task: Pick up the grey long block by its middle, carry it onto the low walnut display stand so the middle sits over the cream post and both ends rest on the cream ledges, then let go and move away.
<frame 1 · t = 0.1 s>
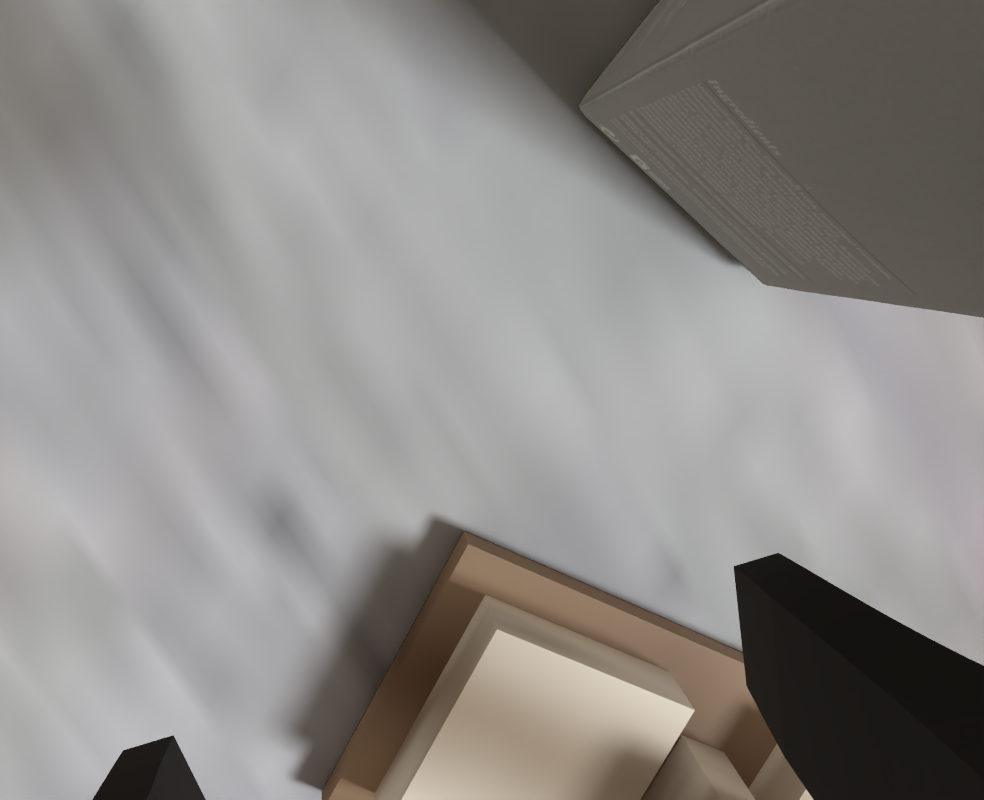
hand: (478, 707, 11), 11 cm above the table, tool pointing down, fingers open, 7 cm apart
skincare box: (771, 45, 20), on the table
display stand: (664, 769, 25), on the table
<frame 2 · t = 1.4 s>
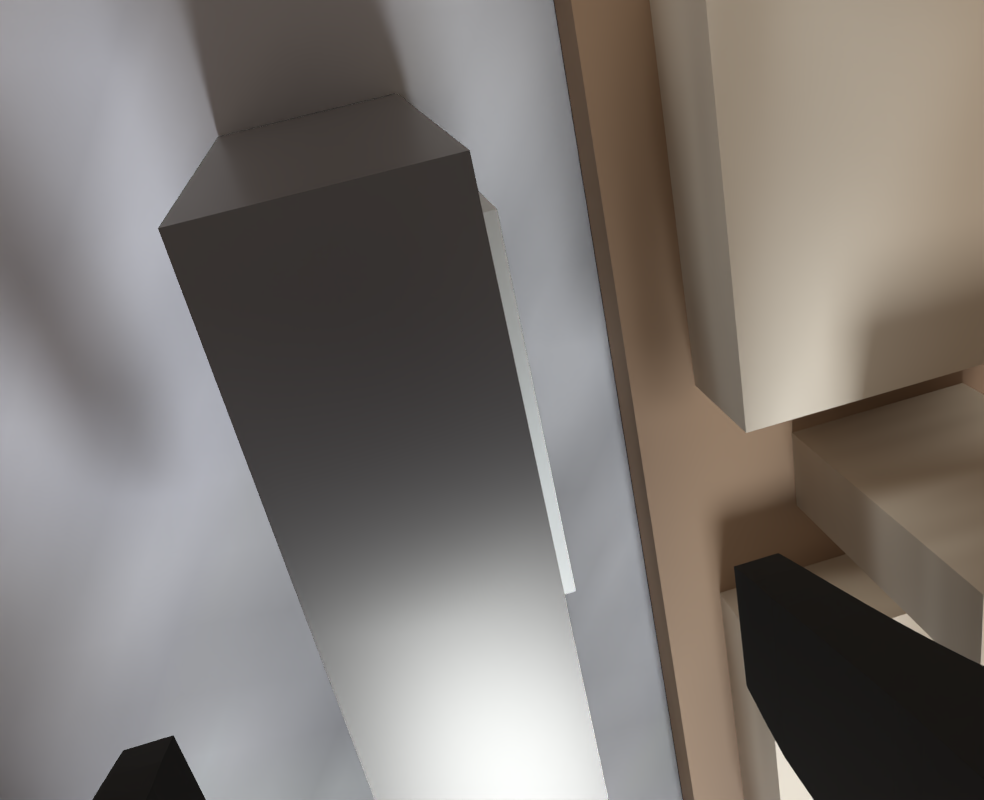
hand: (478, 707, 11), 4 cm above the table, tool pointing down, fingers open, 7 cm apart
display stand: (851, 424, 15), on the table
grey long block: (432, 546, 15), on the table
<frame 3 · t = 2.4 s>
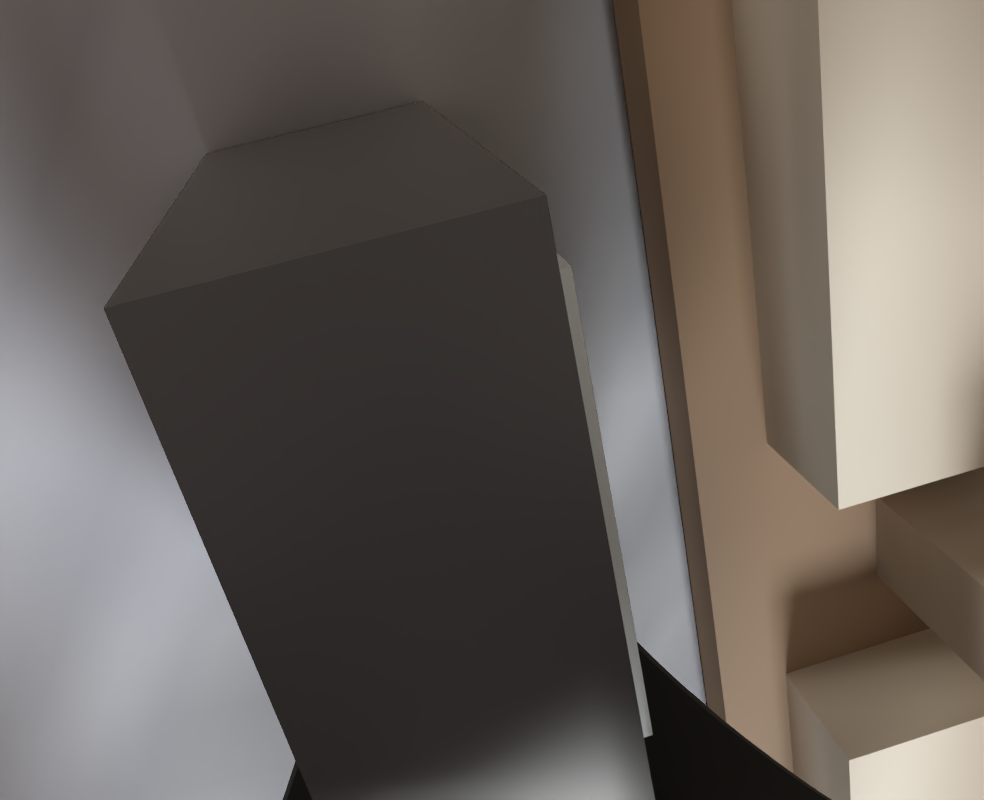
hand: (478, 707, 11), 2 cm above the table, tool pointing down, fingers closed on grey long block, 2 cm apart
display stand: (937, 480, 13), on the table
grey long block: (457, 622, 13), on the table, touching gripper
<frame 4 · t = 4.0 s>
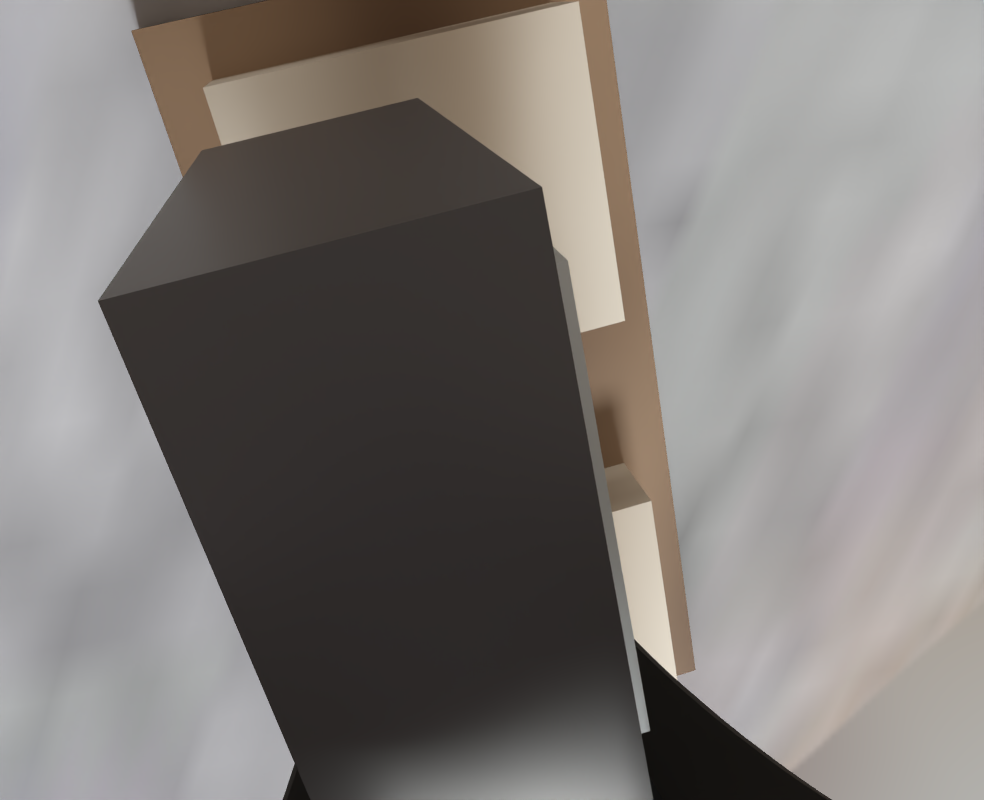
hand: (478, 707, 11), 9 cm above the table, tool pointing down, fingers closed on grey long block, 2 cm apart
display stand: (468, 404, 19), on the table
grey long block: (453, 620, 13), point 7 cm above the table, touching gripper
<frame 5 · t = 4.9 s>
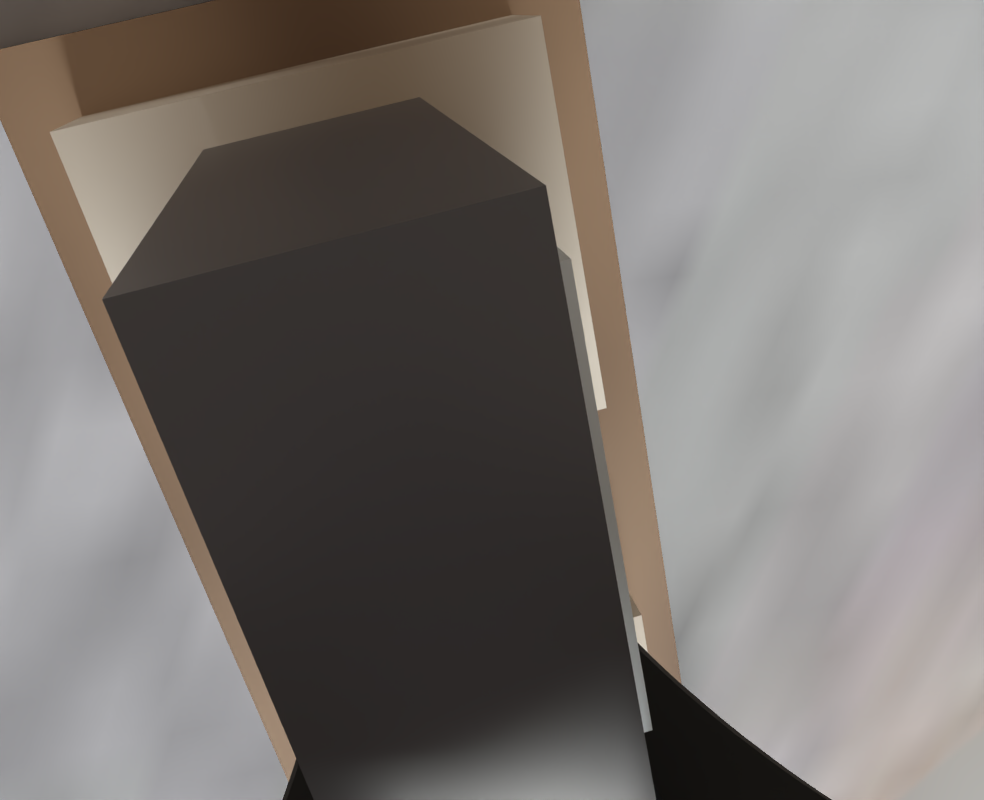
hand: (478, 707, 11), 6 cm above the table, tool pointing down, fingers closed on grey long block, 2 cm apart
display stand: (423, 492, 16), on the table
grey long block: (455, 620, 13), point 4 cm above the table, touching gripper
when the fingers open (5 cm above the table, at t = 5.6 s): grey long block drops 1 cm, resting on display stand.
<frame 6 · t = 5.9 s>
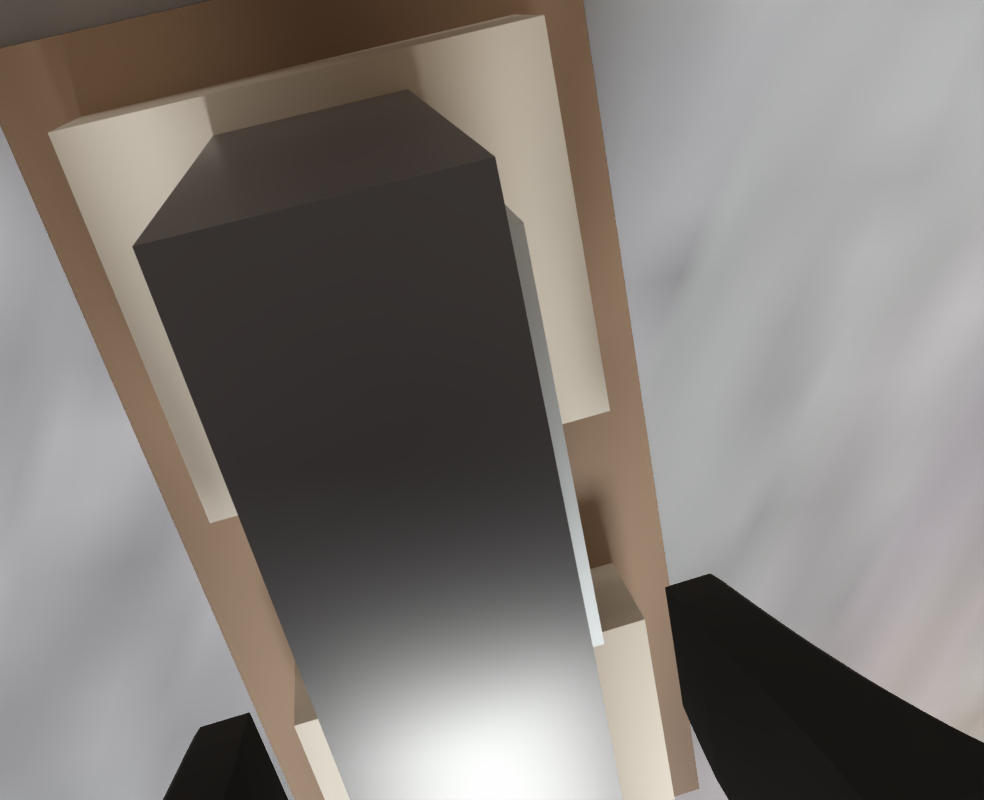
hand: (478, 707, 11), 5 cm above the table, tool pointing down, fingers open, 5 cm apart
display stand: (425, 495, 16), on the table
grey long block: (442, 573, 14), point 3 cm above the table, touching display stand
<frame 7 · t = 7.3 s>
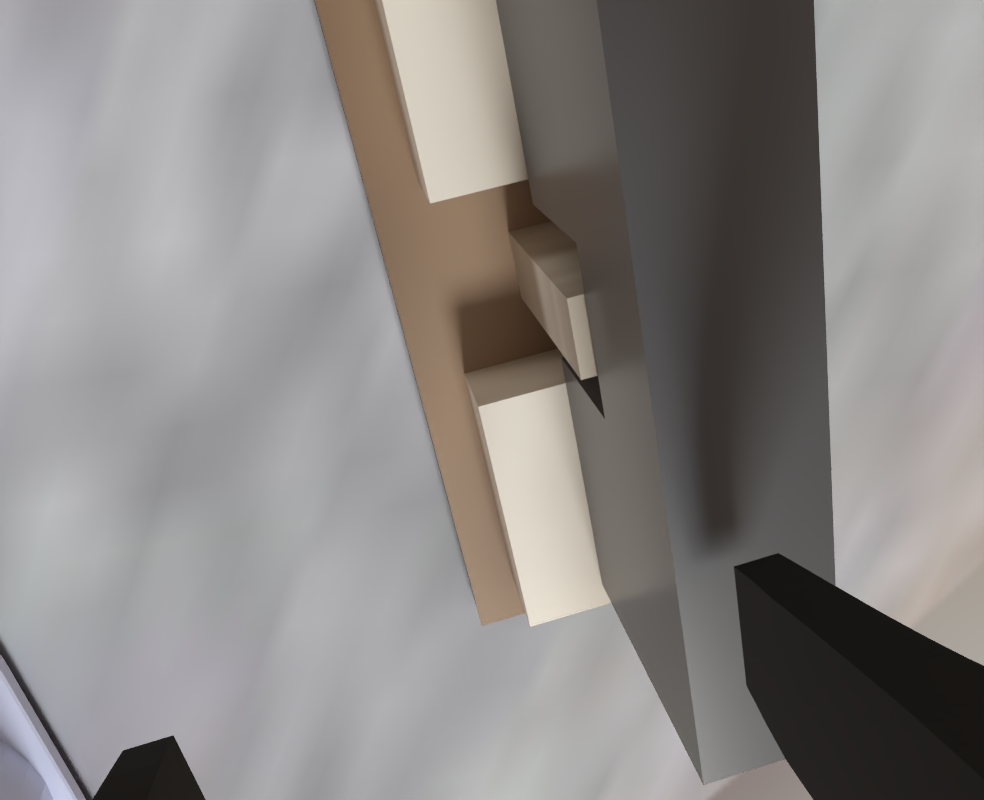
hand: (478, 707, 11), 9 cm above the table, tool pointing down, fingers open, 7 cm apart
display stand: (575, 237, 19), on the table
grey long block: (609, 268, 16), point 2 cm above the table, touching display stand
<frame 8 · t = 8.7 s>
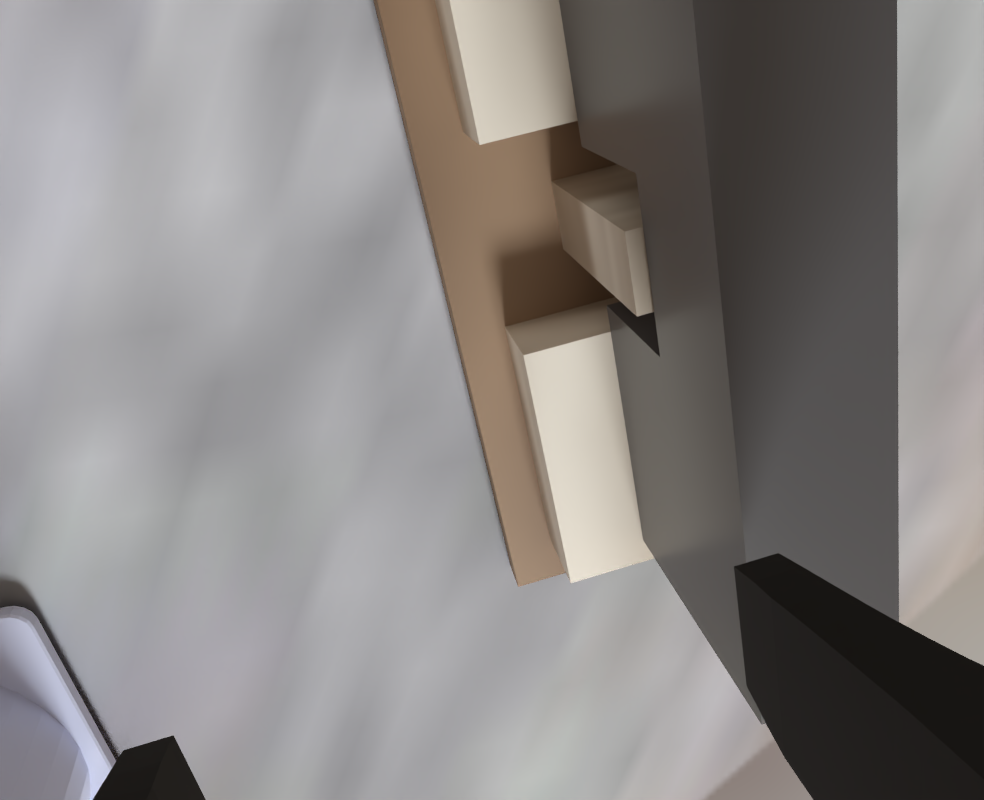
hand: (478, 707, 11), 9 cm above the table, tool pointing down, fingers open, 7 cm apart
display stand: (615, 190, 19), on the table
grey long block: (656, 213, 16), point 2 cm above the table, touching display stand
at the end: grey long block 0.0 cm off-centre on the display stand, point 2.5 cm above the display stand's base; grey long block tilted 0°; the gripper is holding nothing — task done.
